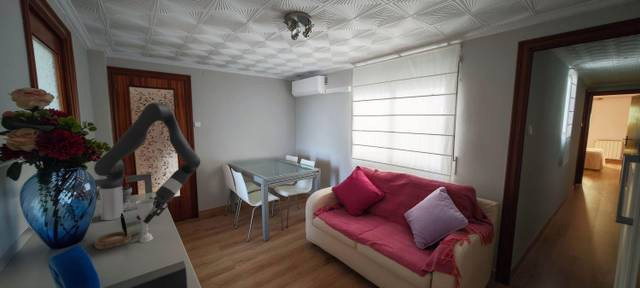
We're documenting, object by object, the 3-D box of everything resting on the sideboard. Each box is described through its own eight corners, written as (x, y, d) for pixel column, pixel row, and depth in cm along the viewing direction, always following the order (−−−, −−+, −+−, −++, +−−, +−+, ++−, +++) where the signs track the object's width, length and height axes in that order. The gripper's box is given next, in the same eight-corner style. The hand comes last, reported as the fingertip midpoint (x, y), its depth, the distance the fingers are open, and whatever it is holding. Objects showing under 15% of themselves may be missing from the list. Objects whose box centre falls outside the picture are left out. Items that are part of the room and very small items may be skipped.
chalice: (133, 240, 106) (132, 201, 105) (149, 234, 112) (148, 197, 111) (142, 244, 103) (141, 204, 102) (159, 238, 109) (158, 200, 108)
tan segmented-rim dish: (90, 243, 103) (90, 238, 102) (124, 233, 113) (124, 228, 113) (101, 251, 96) (100, 246, 96) (135, 240, 107) (135, 235, 107)
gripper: (155, 182, 116) (127, 213, 107) (171, 187, 109) (142, 221, 99) (167, 191, 121) (141, 220, 112) (182, 196, 113) (156, 228, 104)
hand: (141, 220), depth 106 cm, fingers closed on chalice, 6 cm apart
